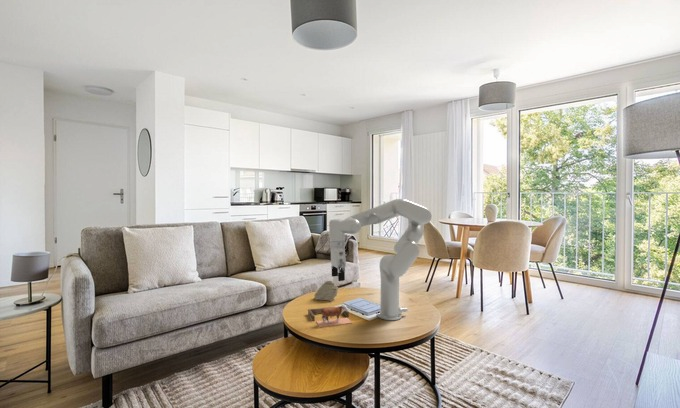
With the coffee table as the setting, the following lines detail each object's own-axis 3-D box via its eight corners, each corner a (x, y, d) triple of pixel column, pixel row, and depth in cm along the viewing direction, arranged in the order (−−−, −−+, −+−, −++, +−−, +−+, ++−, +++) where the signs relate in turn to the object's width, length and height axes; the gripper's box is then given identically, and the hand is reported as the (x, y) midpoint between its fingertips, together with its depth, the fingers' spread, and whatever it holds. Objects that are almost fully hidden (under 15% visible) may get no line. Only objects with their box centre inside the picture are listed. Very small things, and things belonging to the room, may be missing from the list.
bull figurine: (348, 321, 157) (348, 305, 157) (322, 324, 153) (322, 307, 152) (345, 318, 161) (345, 302, 161) (319, 321, 157) (319, 304, 157)
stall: (342, 310, 174) (342, 305, 174) (348, 316, 164) (348, 312, 164) (308, 314, 168) (308, 309, 168) (312, 321, 158) (312, 316, 158)
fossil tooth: (315, 299, 197) (340, 298, 195) (313, 302, 190) (338, 300, 189) (314, 280, 197) (338, 279, 196) (312, 282, 191) (337, 281, 189)
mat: (347, 318, 162) (347, 317, 162) (351, 323, 156) (351, 322, 156) (316, 321, 157) (316, 321, 157) (319, 327, 151) (319, 326, 151)
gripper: (350, 245, 153) (351, 281, 153) (338, 241, 169) (339, 273, 170) (335, 247, 150) (336, 283, 151) (324, 242, 167) (325, 275, 167)
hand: (338, 278), depth 160 cm, fingers open, 9 cm apart
